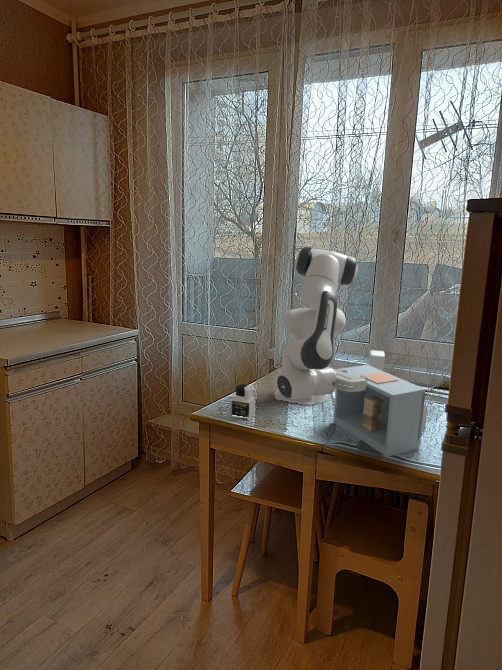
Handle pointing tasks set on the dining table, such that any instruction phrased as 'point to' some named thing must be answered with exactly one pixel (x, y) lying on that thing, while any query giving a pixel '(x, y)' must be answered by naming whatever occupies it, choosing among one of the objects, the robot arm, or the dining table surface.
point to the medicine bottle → (243, 401)
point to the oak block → (372, 413)
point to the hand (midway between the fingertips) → (355, 375)
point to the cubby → (383, 411)
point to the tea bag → (424, 418)
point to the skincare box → (377, 359)
